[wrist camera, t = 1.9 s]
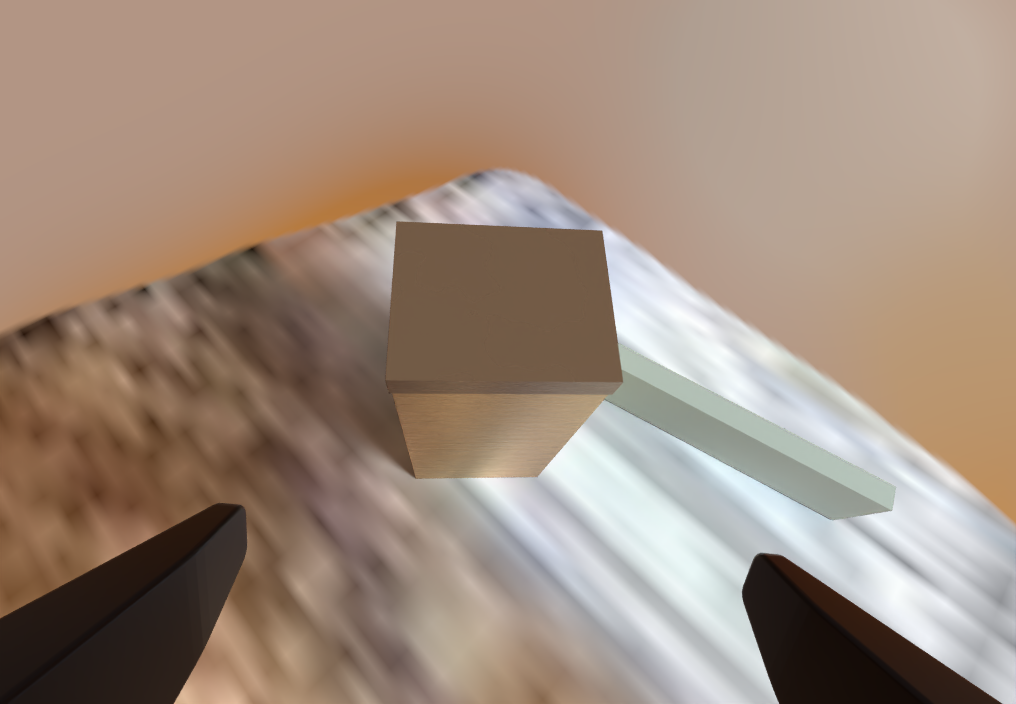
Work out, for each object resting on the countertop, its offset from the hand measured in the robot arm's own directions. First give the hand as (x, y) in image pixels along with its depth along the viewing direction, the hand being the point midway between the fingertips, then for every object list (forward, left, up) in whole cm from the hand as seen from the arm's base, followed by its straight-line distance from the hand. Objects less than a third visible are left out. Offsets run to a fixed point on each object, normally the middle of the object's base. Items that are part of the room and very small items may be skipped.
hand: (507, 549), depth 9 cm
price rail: (+8, +6, -12) cm, 15 cm away
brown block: (0, +5, -12) cm, 13 cm away
